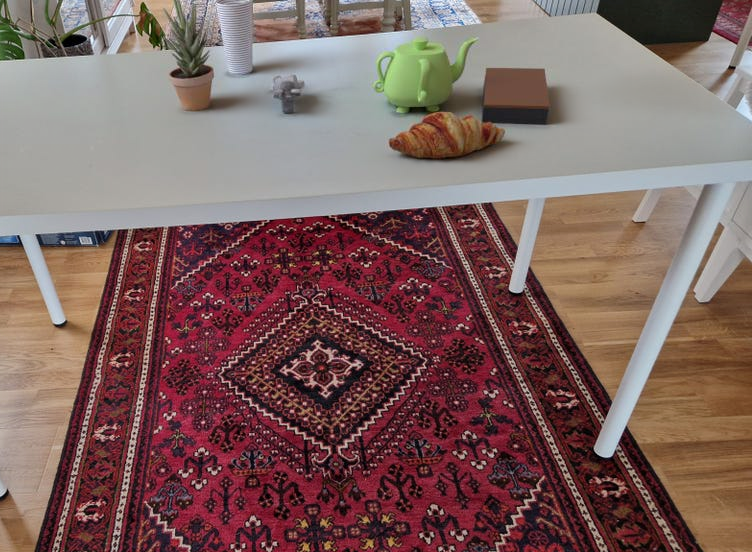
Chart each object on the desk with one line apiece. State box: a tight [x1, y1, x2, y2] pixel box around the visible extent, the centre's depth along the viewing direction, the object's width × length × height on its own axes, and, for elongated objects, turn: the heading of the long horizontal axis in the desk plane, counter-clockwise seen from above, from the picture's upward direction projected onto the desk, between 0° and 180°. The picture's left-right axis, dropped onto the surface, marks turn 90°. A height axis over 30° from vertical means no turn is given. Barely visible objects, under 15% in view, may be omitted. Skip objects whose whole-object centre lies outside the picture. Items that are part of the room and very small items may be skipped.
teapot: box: [372, 36, 479, 114], centre depth 129 cm, size 16×14×13 cm
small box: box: [481, 73, 550, 126], centre depth 128 cm, size 20×12×3 cm, turn 165°
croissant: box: [388, 111, 506, 159], centre depth 113 cm, size 21×10×8 cm, turn 100°
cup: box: [215, 0, 254, 76], centre depth 151 cm, size 8×8×16 cm
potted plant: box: [162, 0, 215, 112], centre depth 132 cm, size 10×10×25 cm
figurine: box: [269, 73, 305, 114], centre depth 136 cm, size 7×6×18 cm
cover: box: [484, 67, 551, 110], centre depth 127 cm, size 20×12×1 cm, turn 165°
